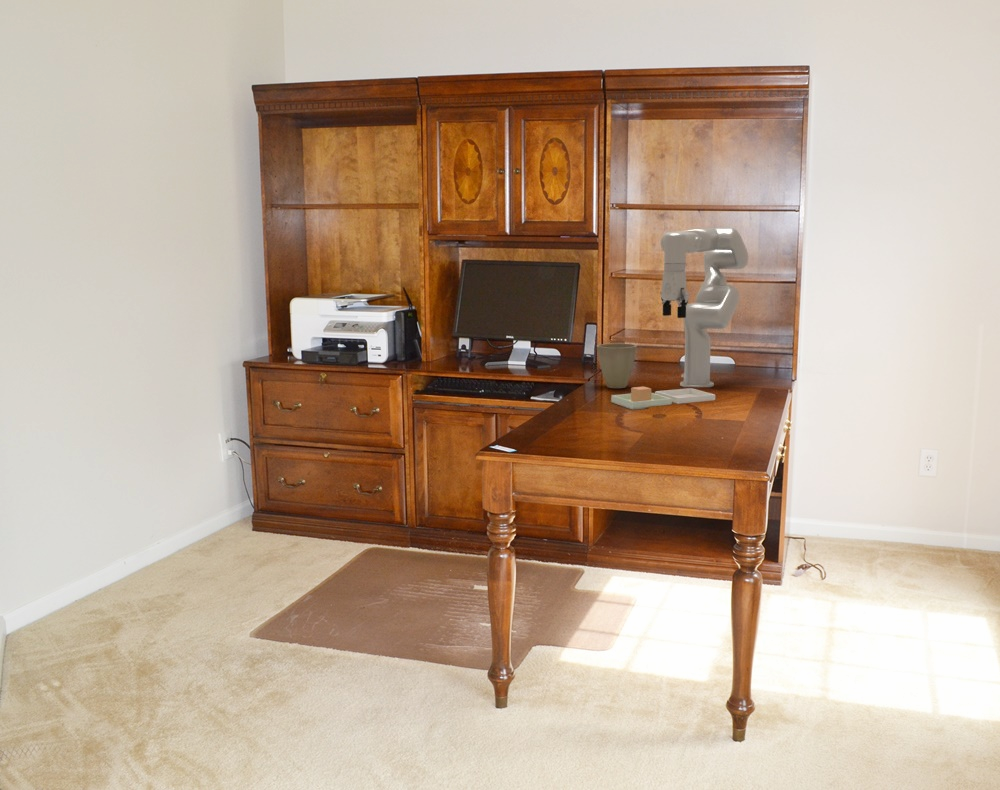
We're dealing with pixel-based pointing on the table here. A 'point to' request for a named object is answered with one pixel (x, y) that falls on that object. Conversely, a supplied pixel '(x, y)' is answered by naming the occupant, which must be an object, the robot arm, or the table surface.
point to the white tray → (686, 395)
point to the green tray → (626, 401)
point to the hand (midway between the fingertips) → (674, 316)
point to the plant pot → (616, 363)
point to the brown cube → (640, 394)
